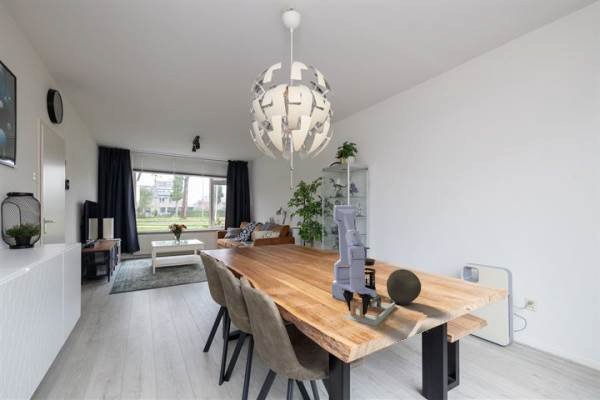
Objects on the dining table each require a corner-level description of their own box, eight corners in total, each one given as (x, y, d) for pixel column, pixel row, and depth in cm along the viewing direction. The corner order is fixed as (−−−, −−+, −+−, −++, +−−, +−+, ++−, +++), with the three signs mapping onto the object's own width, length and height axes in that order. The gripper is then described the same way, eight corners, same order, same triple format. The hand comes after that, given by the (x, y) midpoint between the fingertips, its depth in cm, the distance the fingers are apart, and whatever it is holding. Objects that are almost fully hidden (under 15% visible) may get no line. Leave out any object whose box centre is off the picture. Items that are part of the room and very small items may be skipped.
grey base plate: (343, 320, 103) (343, 312, 103) (365, 303, 120) (365, 296, 121) (376, 329, 95) (376, 320, 95) (395, 309, 113) (395, 302, 113)
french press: (370, 290, 139) (370, 245, 140) (381, 295, 130) (380, 248, 131) (350, 292, 136) (349, 246, 136) (359, 298, 127) (359, 249, 127)
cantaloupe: (390, 309, 114) (389, 273, 114) (384, 297, 127) (384, 266, 128) (425, 310, 112) (424, 274, 112) (415, 299, 126) (415, 266, 126)
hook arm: (368, 317, 105) (367, 301, 105) (377, 308, 114) (377, 293, 114) (371, 318, 104) (371, 302, 104) (381, 309, 113) (381, 294, 113)
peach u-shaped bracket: (350, 315, 105) (350, 301, 105) (353, 313, 106) (352, 299, 107) (362, 318, 102) (362, 303, 102) (365, 316, 104) (364, 302, 104)
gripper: (335, 276, 105) (336, 311, 105) (371, 282, 97) (372, 320, 97) (343, 272, 111) (344, 305, 111) (378, 277, 103) (378, 313, 102)
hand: (357, 312), depth 104 cm, fingers open, 5 cm apart
